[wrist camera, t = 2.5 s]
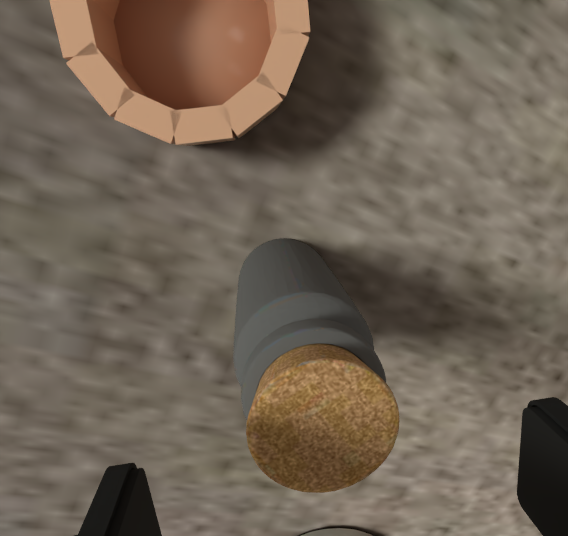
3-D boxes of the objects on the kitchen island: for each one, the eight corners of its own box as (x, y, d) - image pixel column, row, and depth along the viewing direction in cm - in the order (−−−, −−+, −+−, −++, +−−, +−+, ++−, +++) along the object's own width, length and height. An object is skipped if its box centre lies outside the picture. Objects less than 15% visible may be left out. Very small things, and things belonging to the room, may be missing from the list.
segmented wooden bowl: (327, -17, 22) (348, -60, 18) (251, 174, 25) (252, 179, 20) (129, -125, 20) (94, -206, 16) (66, 94, 23) (21, 79, 18)
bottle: (256, 334, 28) (266, 532, 13) (225, 255, 26) (196, 383, 12) (338, 305, 28) (437, 473, 13) (312, 224, 26) (393, 314, 12)
